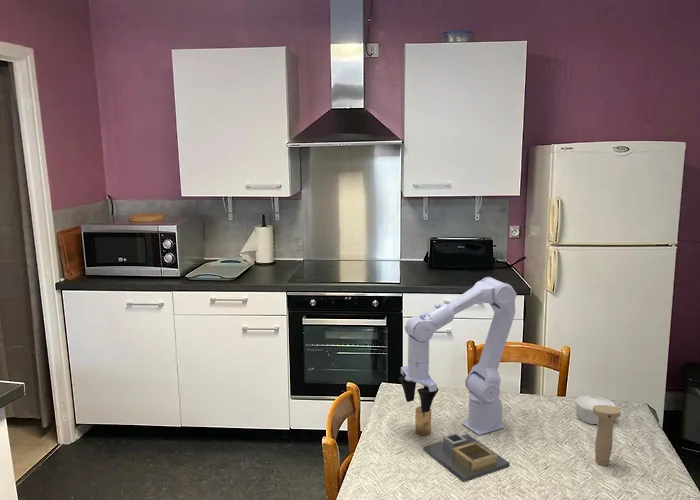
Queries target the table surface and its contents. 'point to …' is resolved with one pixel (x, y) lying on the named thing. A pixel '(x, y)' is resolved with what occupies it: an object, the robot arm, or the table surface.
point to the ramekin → (590, 407)
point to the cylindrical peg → (422, 422)
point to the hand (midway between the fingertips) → (417, 406)
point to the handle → (604, 432)
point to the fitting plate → (465, 456)
